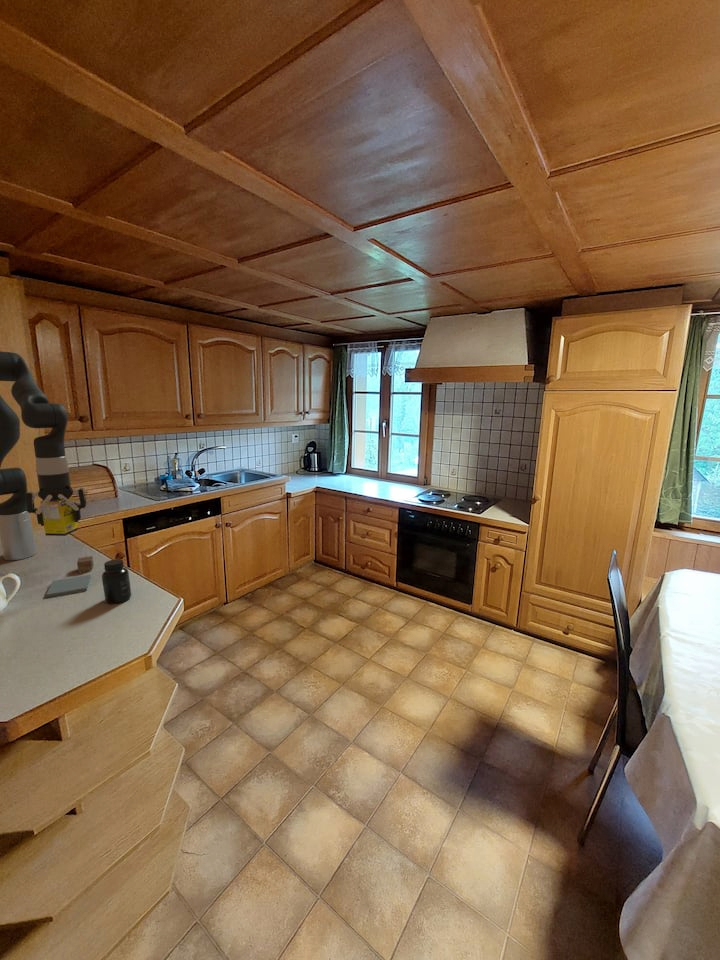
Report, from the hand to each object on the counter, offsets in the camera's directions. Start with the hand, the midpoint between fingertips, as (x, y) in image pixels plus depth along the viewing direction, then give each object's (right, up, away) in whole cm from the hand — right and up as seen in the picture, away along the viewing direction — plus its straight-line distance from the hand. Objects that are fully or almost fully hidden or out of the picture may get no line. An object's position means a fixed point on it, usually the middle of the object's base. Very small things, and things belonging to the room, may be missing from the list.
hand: (60, 523), depth 120 cm
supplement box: (0, -3, +1) cm, 3 cm away
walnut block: (-4, -18, +17) cm, 25 cm away
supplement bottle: (+19, -23, -2) cm, 30 cm away
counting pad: (0, -21, +4) cm, 21 cm away
